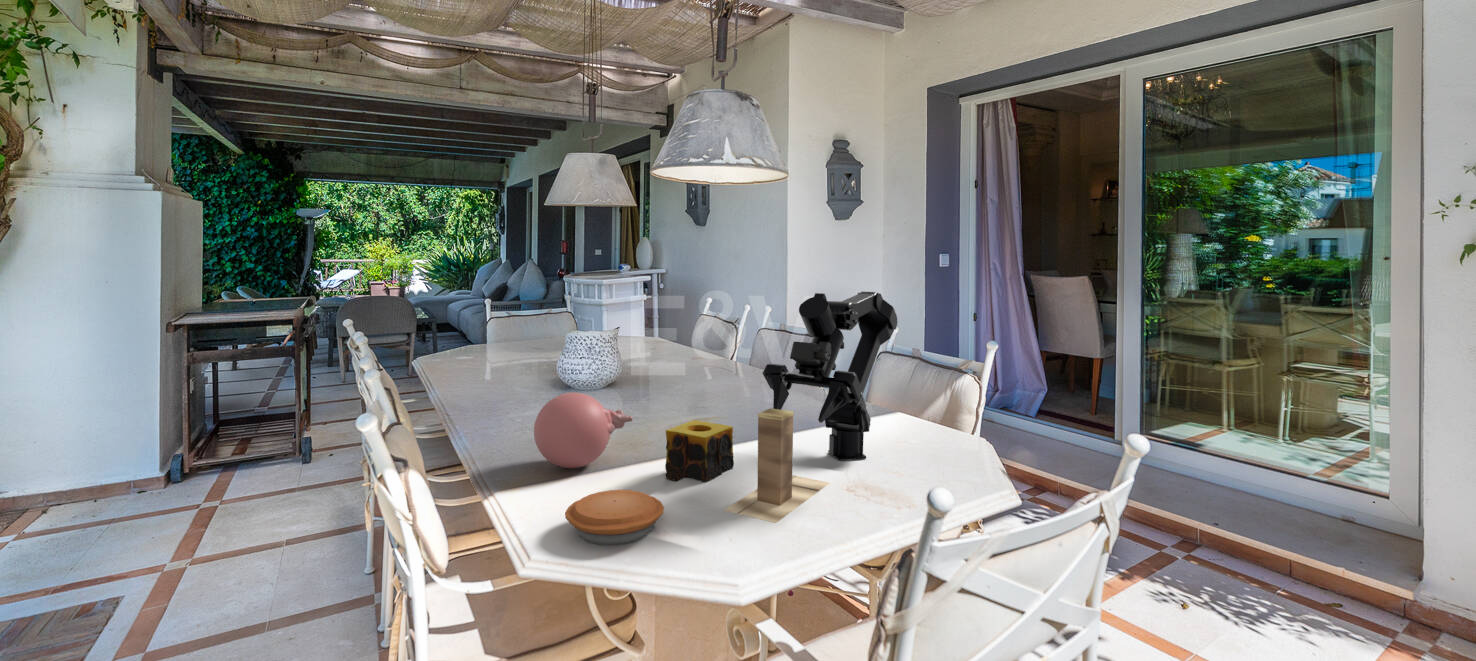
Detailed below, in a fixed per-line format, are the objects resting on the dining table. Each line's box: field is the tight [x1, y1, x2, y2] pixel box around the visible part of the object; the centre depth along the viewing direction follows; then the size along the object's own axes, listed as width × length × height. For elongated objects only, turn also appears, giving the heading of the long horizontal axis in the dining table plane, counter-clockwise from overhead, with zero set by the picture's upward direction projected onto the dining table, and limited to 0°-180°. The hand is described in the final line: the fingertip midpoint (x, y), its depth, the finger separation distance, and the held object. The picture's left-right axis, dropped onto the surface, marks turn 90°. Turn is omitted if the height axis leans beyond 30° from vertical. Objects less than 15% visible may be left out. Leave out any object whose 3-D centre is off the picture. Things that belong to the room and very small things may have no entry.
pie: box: [564, 489, 665, 546], centre depth 108 cm, size 15×16×5 cm
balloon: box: [533, 392, 634, 469], centre depth 139 cm, size 15×20×15 cm
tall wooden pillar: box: [756, 407, 795, 506], centre depth 117 cm, size 5×5×16 cm
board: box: [723, 474, 831, 524], centre depth 120 cm, size 22×10×1 cm, turn 149°
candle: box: [664, 419, 735, 483], centre depth 133 cm, size 10×10×10 cm
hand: (796, 418), depth 124 cm, fingers open, 9 cm apart
